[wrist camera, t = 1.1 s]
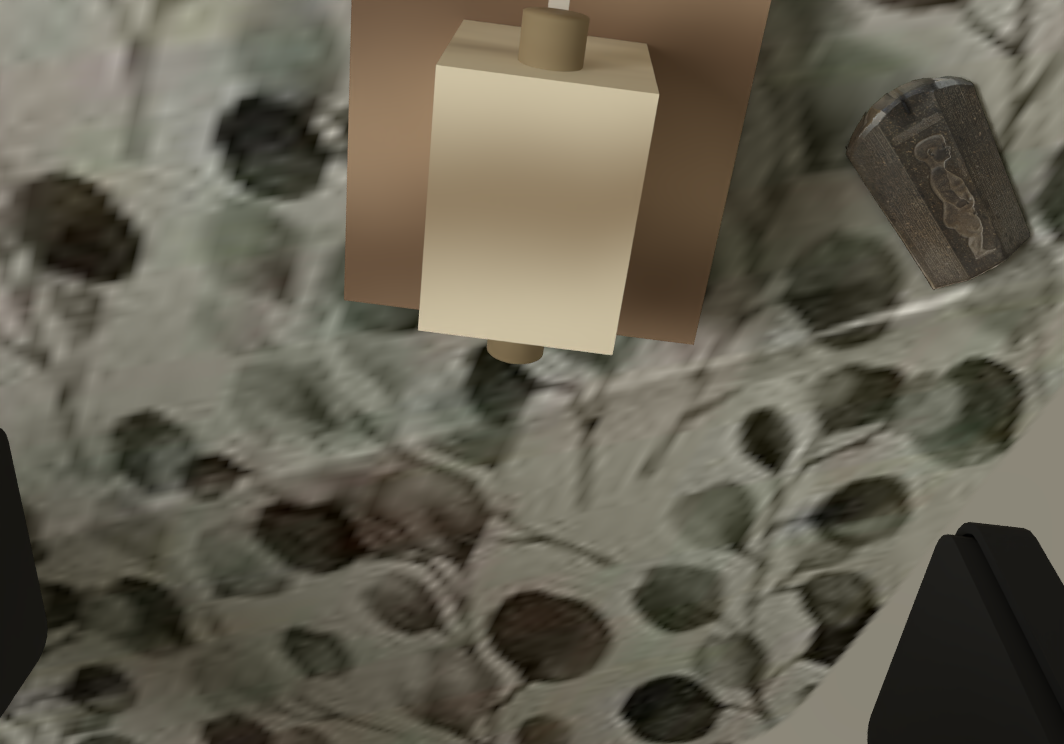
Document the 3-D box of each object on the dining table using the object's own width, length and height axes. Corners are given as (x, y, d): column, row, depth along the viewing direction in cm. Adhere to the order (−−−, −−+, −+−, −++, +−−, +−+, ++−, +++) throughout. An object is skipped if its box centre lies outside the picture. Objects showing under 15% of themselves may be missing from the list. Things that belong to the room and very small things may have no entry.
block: (919, 272, 30) (931, 304, 29) (824, 118, 28) (833, 145, 26) (1038, 212, 29) (1058, 242, 27) (949, 43, 26) (966, 67, 25)
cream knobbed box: (603, 301, 28) (605, 391, 23) (443, 280, 28) (415, 367, 23) (654, 1, 24) (668, 42, 19) (467, -25, 24) (439, 12, 19)
